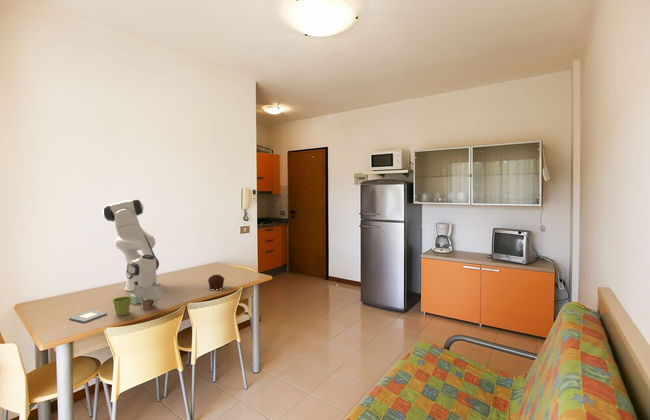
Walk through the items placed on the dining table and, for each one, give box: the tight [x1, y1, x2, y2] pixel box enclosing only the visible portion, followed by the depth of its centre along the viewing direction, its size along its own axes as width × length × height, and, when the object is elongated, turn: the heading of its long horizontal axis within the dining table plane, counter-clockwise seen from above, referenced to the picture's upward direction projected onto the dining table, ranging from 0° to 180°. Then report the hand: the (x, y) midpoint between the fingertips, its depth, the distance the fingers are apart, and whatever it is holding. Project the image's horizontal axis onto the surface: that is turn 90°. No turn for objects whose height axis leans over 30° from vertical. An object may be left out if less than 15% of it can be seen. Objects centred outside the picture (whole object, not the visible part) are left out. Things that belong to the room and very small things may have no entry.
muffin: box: [207, 274, 225, 291], centre depth 226 cm, size 12×11×10 cm
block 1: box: [129, 293, 141, 305], centre depth 196 cm, size 5×5×5 cm
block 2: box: [142, 298, 157, 311], centre depth 187 cm, size 5×5×5 cm
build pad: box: [69, 309, 108, 324], centre depth 173 cm, size 12×12×1 cm
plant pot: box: [112, 295, 132, 317], centre depth 178 cm, size 9×9×9 cm
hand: (148, 304), depth 186 cm, fingers open, 8 cm apart
